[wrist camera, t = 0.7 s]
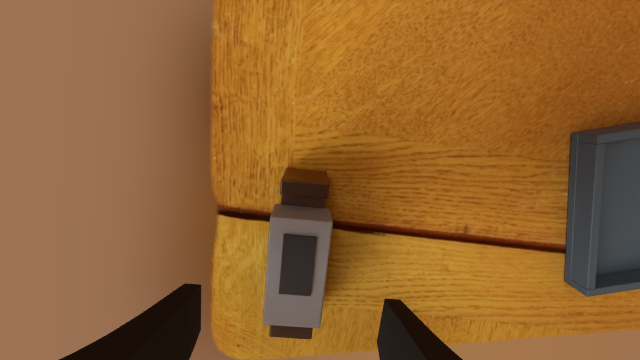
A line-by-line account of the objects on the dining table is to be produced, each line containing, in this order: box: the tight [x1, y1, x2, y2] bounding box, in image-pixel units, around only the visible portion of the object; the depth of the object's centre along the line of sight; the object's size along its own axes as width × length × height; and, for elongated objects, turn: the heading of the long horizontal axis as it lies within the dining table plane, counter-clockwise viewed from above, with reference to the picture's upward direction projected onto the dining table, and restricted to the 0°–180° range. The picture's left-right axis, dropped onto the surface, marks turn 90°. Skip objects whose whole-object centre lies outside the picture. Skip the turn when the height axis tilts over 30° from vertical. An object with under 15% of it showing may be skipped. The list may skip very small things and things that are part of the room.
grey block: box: [263, 204, 333, 328], centre depth 16 cm, size 6×3×2 cm, turn 174°
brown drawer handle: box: [269, 168, 329, 339], centre depth 17 cm, size 9×2×3 cm, turn 174°
